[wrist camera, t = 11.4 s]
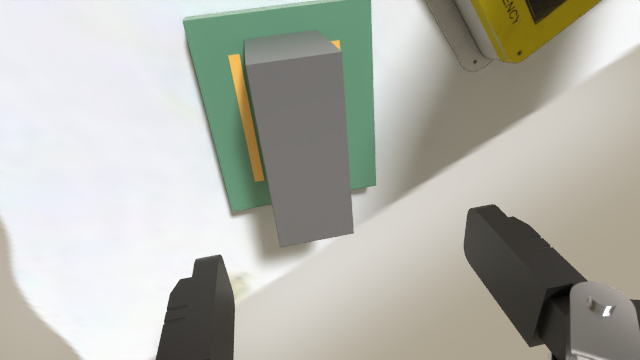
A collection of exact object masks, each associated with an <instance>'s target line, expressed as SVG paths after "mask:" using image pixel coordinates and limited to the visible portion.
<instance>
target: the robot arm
mask: <svg viewBox="0 0 640 360" xmlns="http://www.w3.org/2000/svg"><path fill="white" fill-rule="evenodd" d="M464 251H465V256H466V258H467V260H468V262H469V264H470V265H471V267H472V268H473V270H474V271H475V272H476V274H477V275H478V276H479V278H480V279H481V281H482V282H483V283H484V285H485V286H486V288H488V290H489V292H490V293H491V294H492V296H493V297H494V299H495V300H496V301H497V303H498V304H499V305H500V307H501V308H502V310H503V311H504V312H505V314H506V315H507V317H508V318H509V319H510V321H511V322H512V323H513V325H514V326H515V328H516V329H517V330H518V332H519V333H520V335H521V336H522V337H523V339H524V340H525V341H526V342H527V344H528V345H529V347H533V346H537V345H542V344H545V345H546V346H547V347H548V349H549V350H550V353H549V356H548V360H640V300H631V299H629V298H628V297H626V296H625V295H624V294H623V293H621V292H620V291H618V290H617V289H614V288H612V287H610V286H608V285H605V284H601V283H597V282H588V281H587V280H586V279H585V278H584V277H583V276H582V275H581V274H580V273H579V272H578V271H577V270H576V269H574V267H572V266H571V265H570V264H569V263H568V262H567V261H566V260H565V259H564V258H563V257H562V256H561V255H560V254H559V253H558V252H557V251H556V250H555V249H554V248H551V247H550V245H549V244H548V243H547V242H546V241H545V240H544V239H543V238H542V239H541V236H540V235H539V234H538V233H537V232H536V231H535V230H534V229H533V228H532V227H531V226H530V225H528V224H526V223H524V222H522V221H521V220H519V219H517V218H515V217H507V216H506V215H505V214H504V213H503V212H502V211H501V210H500V209H499V208H498V207H497V206H496V205H493V204H491V205H487V206H481V207H476V208H471V209H469V211H468V214H467V222H466V230H465V238H464ZM234 318H235V304H234V296H233V291H232V287H231V284H230V281H229V277H228V274H227V271H226V268H225V264H224V261H223V258H222V256H221V255H215V256H210V257H204V258H199V259H196V260H195V263H194V269H193V275H192V277H190V278H185V279H180V280H179V282H178V283H177V285H176V286H175V288H174V289H173V291H172V292H171V293H170V297H169V302H168V306H167V312H166V315H165V320H164V323H165V324H164V325H163V329H162V334H161V338H160V343H159V347H158V352H157V356H156V360H233V352H234V351H233V350H234Z"/></svg>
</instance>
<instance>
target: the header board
mask: <svg viewBox="0 0 640 360" xmlns="http://www.w3.org/2000/svg"><path fill="white" fill-rule="evenodd" d="M183 25H184V29H185V32H186V36H187V40H188V44H189V48H190V52H191V55H192V59H193V63H194V67H195V71H196V75H197V78H198V82H199V86H200V90H201V94H202V98H203V101H204V105H205V109H206V113H207V117H208V121H209V124H210V128H211V132H212V136H213V140H214V144H215V147H216V151H217V155H218V159H219V163H220V167H221V170H222V174H223V178H224V182H225V186H226V190H227V193H228V197H229V201H230V205H231V209H232V211H237V210H243V209H249V208H254V207H260V206H265V205H271V204H272V200H271V195H270V190H269V184H268V179H267V174H266V169H265V164H264V158H263V153H262V148H261V143H260V137H259V132H258V127H257V122H256V117H255V111H254V106H253V101H252V96H251V90H250V85H249V80H248V75H247V70H246V62H245V45H244V39H250V38H257V37H265V36H272V35H280V34H287V33H295V32H302V31H310V30H318V31H319V32H320V33H322V34H323V35H324V36H325V37H326V38H327V39H328V40H329V41H330V42H332V43H333V44H334V45H335V46H336V47H337V48H338V49H339V50H341V51H342V61H343V77H344V92H345V108H346V123H347V139H348V154H349V170H350V185H351V190H353V189H359V188H364V187H370V186H375V185H376V171H375V134H374V98H373V61H372V25H371V0H317V1H309V2H302V3H294V4H286V5H278V6H270V7H262V8H254V9H246V10H239V11H231V12H223V13H215V14H207V15H199V16H191V17H186V18H185V19H184V20H183Z"/></svg>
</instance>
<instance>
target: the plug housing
mask: <svg viewBox="0 0 640 360" xmlns="http://www.w3.org/2000/svg"><path fill="white" fill-rule="evenodd" d="M244 45H245V62H246V70H247V75H248V80H249V85H250V90H251V96H252V101H253V106H254V111H255V117H256V122H257V127H258V132H259V137H260V143H261V148H262V153H263V158H264V164H265V169H266V174H267V179H268V184H269V190H270V195H271V200H272V205H273V211H274V216H275V221H276V226H277V232H278V237H279V242H280V247H285V246H290V245H295V244H300V243H306V242H311V241H316V240H321V239H326V238H332V237H337V236H342V235H347V234H352V233H354V232H353V216H352V201H351V185H350V170H349V154H348V139H347V123H346V108H345V92H344V77H343V61H342V51H341V50H339V49H338V48H337V47H336V46H335V45H334V44H333V43H332V42H330V41H329V40H328V39H327V38H326V37H325V36H324V35H323V34H322V33H320V32H319V31H318V30H310V31H302V32H295V33H287V34H280V35H272V36H265V37H257V38H250V39H244Z"/></svg>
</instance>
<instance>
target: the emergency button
mask: <svg viewBox="0 0 640 360" xmlns="http://www.w3.org/2000/svg"><path fill="white" fill-rule="evenodd" d="M425 1H426V2H427V4H428V6H429V8H430V10H431V11H432V13H433V15H434V17H435V19H436V20H437V22H438V24H439V26H440V27H441V29H442V31H443V33H444V35H445V36H446V38H447V40H448V42H449V44H450V45H451V47H452V49H453V51H454V53H455V54H456V56H457V58H458V60H459V61H460V63H461V65H462V67H463V68H465V69H466V70H467V71H477V70H479V69H481V68H483V67H485V66H486V65H487V64H489V63H490V62H491V61H492V60H494V59H497V60H502V61H503V62H509V63H518V62H521V61H523V60H524V59H526V58H527V57H528V56H530V55H531V54H532V53H534V52H535V51H536V50H537V49H539V48H540V47H541V46H543V45H544V44H545V43H547V42H548V41H549V40H551V39H552V38H553V37H554V36H556V35H557V34H558V33H560V32H561V31H562V30H564V29H565V28H566V27H568V26H569V25H570V24H572V23H573V22H574V21H575V20H577V19H578V18H579V17H581V16H582V15H583V14H585V13H586V12H587V11H589V10H590V9H591V8H593V7H594V6H595V5H596V4H598V3H599V2H600V1H602V0H425Z"/></svg>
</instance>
